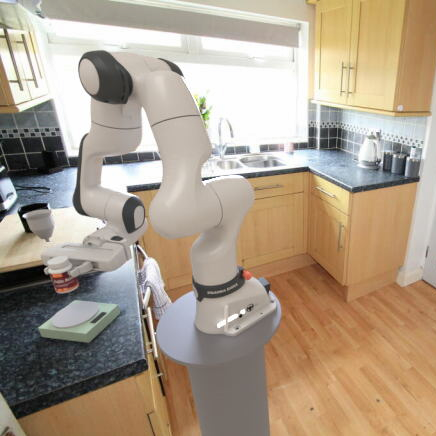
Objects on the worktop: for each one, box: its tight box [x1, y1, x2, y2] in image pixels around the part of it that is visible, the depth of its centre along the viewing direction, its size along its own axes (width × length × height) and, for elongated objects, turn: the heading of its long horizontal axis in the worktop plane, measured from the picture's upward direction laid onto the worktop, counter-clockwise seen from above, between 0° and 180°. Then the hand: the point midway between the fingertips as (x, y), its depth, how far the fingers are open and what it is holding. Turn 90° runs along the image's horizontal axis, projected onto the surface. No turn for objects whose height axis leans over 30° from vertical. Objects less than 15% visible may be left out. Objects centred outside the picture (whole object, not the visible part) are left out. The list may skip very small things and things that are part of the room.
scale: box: [37, 299, 121, 344], centre depth 84 cm, size 11×13×4 cm
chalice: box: [22, 209, 55, 243], centre depth 108 cm, size 7×7×18 cm
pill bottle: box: [47, 256, 80, 294], centre depth 79 cm, size 5×5×8 cm
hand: (58, 273), depth 78 cm, fingers closed on pill bottle, 5 cm apart
